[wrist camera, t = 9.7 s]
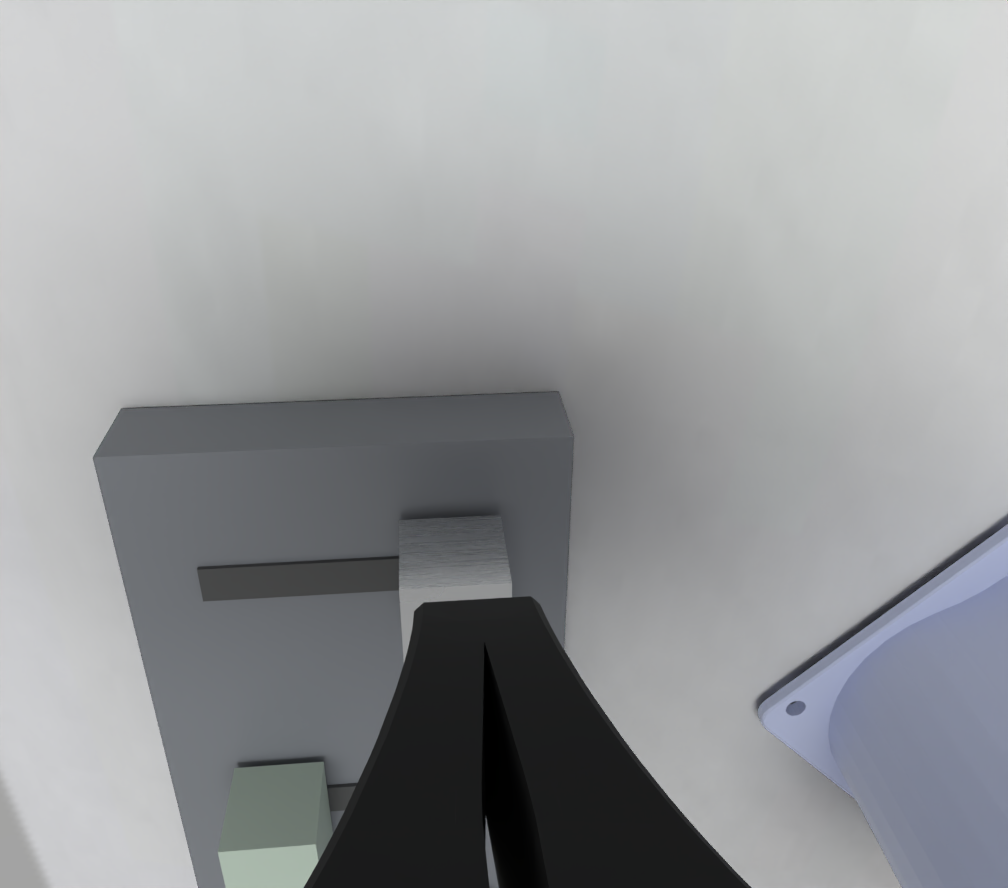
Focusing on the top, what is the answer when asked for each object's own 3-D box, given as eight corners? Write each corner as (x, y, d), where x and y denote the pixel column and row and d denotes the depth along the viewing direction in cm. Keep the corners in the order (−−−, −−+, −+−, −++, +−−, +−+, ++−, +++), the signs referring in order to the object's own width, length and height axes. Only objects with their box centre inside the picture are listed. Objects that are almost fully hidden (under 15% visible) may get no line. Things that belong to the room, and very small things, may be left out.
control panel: (121, 408, 19) (57, 517, 15) (558, 391, 20) (592, 490, 16) (244, 967, 28) (222, 1114, 25) (538, 940, 29) (557, 1078, 25)
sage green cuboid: (234, 767, 21) (217, 852, 19) (323, 761, 21) (315, 844, 19) (250, 849, 22) (236, 935, 20) (334, 842, 22) (327, 927, 21)
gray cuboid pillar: (399, 520, 18) (398, 589, 16) (500, 515, 18) (511, 582, 16) (406, 630, 20) (406, 706, 18) (500, 624, 20) (511, 699, 18)
